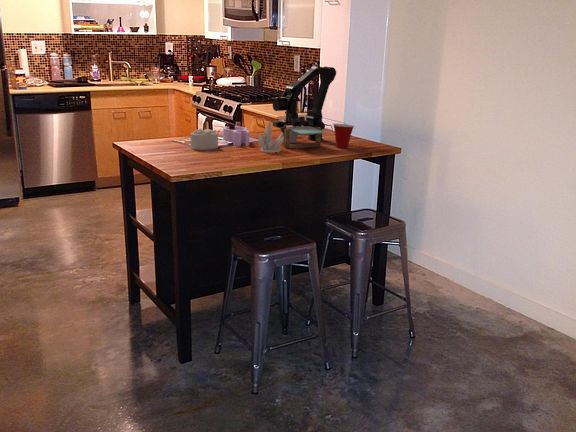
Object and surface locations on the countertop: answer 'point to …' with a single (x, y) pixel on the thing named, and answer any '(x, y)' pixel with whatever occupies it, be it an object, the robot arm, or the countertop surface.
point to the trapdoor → (304, 130)
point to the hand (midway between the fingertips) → (290, 139)
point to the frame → (287, 145)
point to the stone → (293, 139)
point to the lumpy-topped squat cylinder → (204, 139)
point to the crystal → (269, 141)
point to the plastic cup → (342, 134)
